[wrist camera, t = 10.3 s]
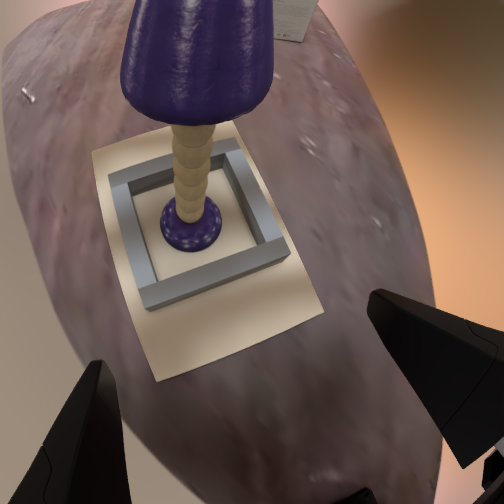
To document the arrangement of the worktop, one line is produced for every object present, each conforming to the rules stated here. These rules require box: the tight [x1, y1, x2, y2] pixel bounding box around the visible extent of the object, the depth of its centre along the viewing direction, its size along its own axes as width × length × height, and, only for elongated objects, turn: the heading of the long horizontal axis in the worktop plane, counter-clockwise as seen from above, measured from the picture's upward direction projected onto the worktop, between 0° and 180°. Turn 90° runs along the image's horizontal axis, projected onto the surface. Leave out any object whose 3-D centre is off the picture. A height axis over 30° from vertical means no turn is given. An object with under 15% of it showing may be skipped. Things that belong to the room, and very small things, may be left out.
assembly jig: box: [91, 120, 324, 382], centre depth 19 cm, size 18×12×3 cm, turn 23°
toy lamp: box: [120, 0, 274, 252], centre depth 12 cm, size 5×5×17 cm
